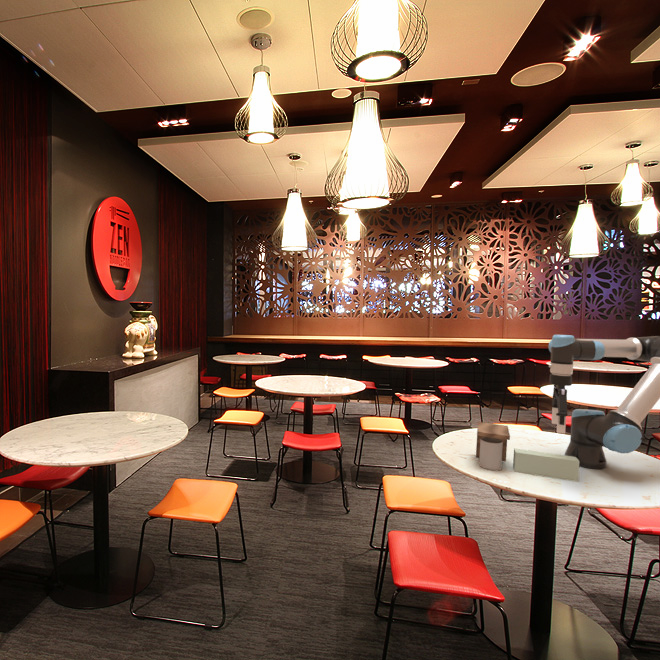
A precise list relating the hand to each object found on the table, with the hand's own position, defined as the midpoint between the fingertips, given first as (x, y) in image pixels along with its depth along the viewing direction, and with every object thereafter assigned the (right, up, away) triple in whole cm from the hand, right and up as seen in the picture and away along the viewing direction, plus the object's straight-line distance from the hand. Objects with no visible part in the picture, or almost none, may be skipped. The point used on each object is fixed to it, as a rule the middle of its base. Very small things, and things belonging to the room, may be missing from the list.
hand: (557, 428), depth 149 cm
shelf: (-22, -18, +10) cm, 30 cm away
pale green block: (-4, -19, +2) cm, 19 cm away
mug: (-23, -18, +9) cm, 30 cm away
